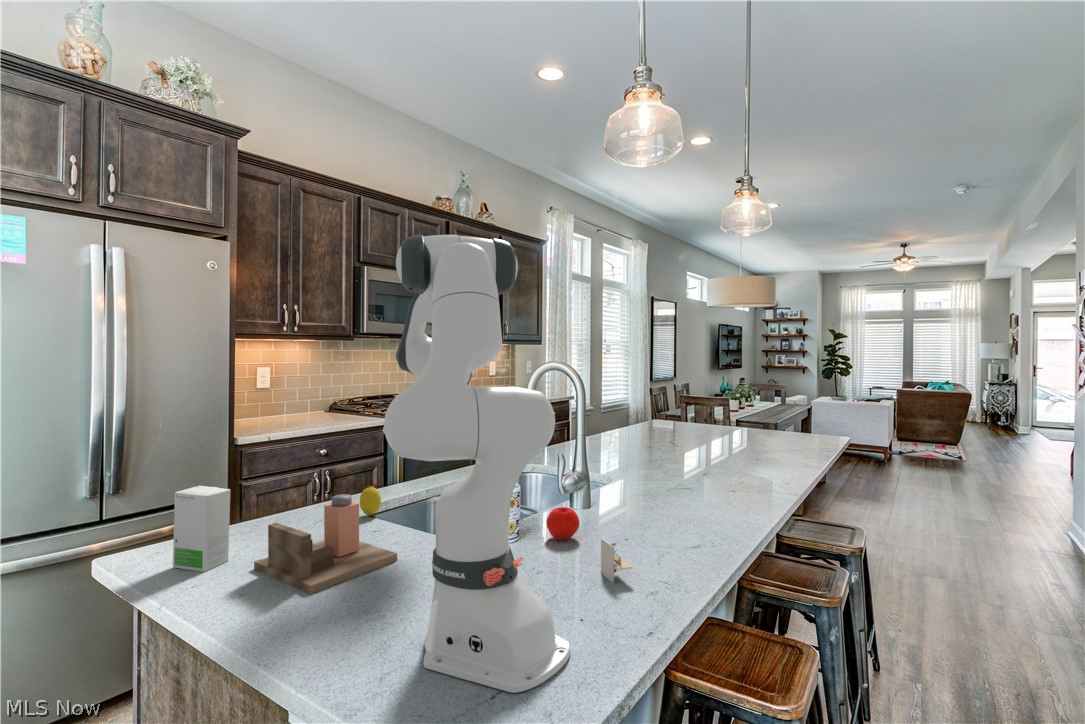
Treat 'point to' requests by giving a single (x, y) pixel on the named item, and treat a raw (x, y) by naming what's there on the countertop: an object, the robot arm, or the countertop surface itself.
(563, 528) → the apple
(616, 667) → the countertop surface
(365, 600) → the countertop surface
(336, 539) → the pink square bottle
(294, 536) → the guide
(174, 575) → the countertop surface
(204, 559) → the skincare box
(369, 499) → the lemon
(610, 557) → the architectural model
